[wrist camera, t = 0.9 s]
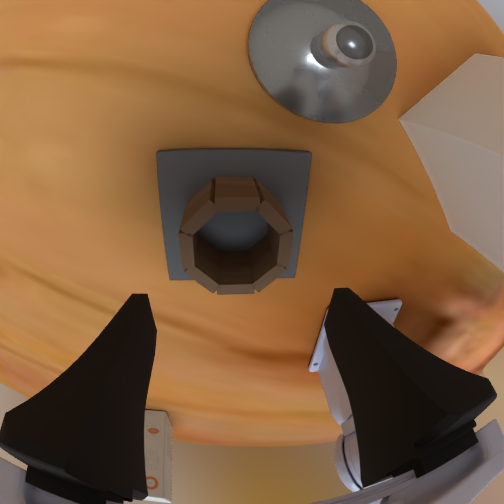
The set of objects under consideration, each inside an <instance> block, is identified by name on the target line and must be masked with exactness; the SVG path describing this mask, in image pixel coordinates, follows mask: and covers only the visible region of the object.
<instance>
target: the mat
mask: <svg viewBox="0 0 504 504" xmlns="http://www.w3.org/2000/svg"><path fill="white" fill-rule="evenodd" d="M156 155H157V172H158V185H159V197H160V208H161V218H162V227H163V235H164V244H165V251H166V259H167V266H168V272H169V279H170V280H194V279H193V278H191V277H190V276H188V275H187V274H186V273H184V271H185V269H182V264H181V255H180V246H179V235H178V233H179V229H180V226H181V222H182V218H183V215H184V211H185V208H186V206H187V203H188V202H189V201H190V200H191V198H192V197H193V196H194V195H195V194H196V193H197V192H198V191H199V190H200V189H202V188H203V187H204V186H205V185H206V184H207V183H208V182H209V181H210V180H211V179H213V180H214V181H215V182H216V177H253V180H255V179H257V180H258V181H259V182H260V183H261V184H262V185H263V186H264V187H265V188H266V189H267V190H268V191H269V192H270V193H271V194H272V195H273V196H274V197H275V198H276V199H277V200H278V201H279V202H280V204H281V206H282V208H283V210H284V212H285V214H286V216H287V218H288V220H289V222H290V224H291V226H292V229H293V231H294V235H293V243H292V250H291V257H290V265H289V267H286V269H287V271H285V272H284V273H283V274H281V275H280V276H279V277H278V278H295V274H296V267H297V261H298V255H299V248H300V241H301V235H302V228H303V220H304V213H305V206H306V198H307V190H308V182H309V173H310V165H311V155H312V153H310V152H309V151H296V150H279V149H253V148H201V149H175V150H159V151H157V152H156ZM198 232H199V236H201V237H202V238H203V239H204V240H205V241H207V242H208V243H209V244H210V245H211V246H213V247H214V248H215V249H216V250H217V251H219V252H242V251H248V250H249V249H250V248H251V247H253V246H254V245H255V244H256V243H257V242H258V241H260V240H261V239H262V238H263V237H264V236H266V235H267V232H268V222H267V221H266V220H265V219H264V218H263V217H262V216H261V215H260V214H259V213H258V212H256V211H218V212H217V213H216V214H215V215H214V216H213V217H212V218H210V219H209V220H208V221H207V222H206V223H205V224H204V225H203V226H202V227H201V228H200V229H199V230H198Z"/></svg>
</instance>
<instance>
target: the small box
mask: <svg viewBox="0 0 504 504" xmlns="http://www.w3.org/2000/svg"><path fill="white" fill-rule="evenodd" d="M144 454H145V471H146V481H147V489H148V496H147V497H146V498H145V499H144V500H150V501H158V502H166V503H172V425H171V423H170V420H169V418H168V415H167V413H166V412H165V411H153V410H145V421H144Z"/></svg>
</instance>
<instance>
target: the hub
mask: <svg viewBox="0 0 504 504" xmlns="http://www.w3.org/2000/svg"><path fill="white" fill-rule="evenodd" d="M248 55H249V61H250V64H251V67H252V70H253V72H254V74H255V76H256V79H257V80H258V82H259V83H260V85H261V86H262V88H263V89H264V90H265V91H266V92H267V94H268V95H269V96H270V97H271V98H272V99H274V100H275V101H276V102H277V103H278V104H280V105H281V106H282V107H284V108H285V109H287V110H289V111H291V112H292V113H295V114H297V115H299V116H301V117H305V118H308V119H311V120H315V121H319V122H325V123H345V122H351V121H355V120H358V119H361V118H363V117H365V116H367V115H369V114H370V113H372V112H373V111H375V110H376V109H377V108H378V107H379V106H380V105H381V104H382V103H383V102H384V101H385V99H386V98H387V96H388V95H389V93H390V91H391V89H392V87H393V84H394V81H395V77H396V70H397V59H396V52H395V48H394V44H393V41H392V38H391V36H390V34H389V32H388V30H387V28H386V26H385V25H384V23H383V22H382V21H381V19H380V18H379V17H378V16H377V15H376V13H375V12H374V11H373V10H372V9H371V8H369V7H368V6H367V5H366V4H365V3H363V2H362V1H360V0H269V1H268V2H267V3H265V4H264V5H263V7H262V8H261V9H260V11H259V12H258V13H257V15H256V17H255V19H254V21H253V24H252V26H251V29H250V32H249V37H248Z"/></svg>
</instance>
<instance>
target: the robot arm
mask: <svg viewBox="0 0 504 504" xmlns="http://www.w3.org/2000/svg"><path fill="white" fill-rule="evenodd" d="M401 305H402V302H401V300H400V299H397V300H389V301H380V302H371V303H366V302H364V301H363V300H362V299H361V298H360V297H359V296H358V295H357V294H355V293H354V292H353V291H352V290H351V289H349V288H334V292H333V295H332V299H331V302H330V306H329V308H328V309H327V312H326V315H325V318H324V322H323V325H322V328H321V331H320V335H319V338H318V341H317V344H316V347H315V350H314V353H313V356H312V359H311V362H310V365H309V371H310V372H316V371H318V373H319V376H320V379H321V382H322V386H323V389H324V392H325V396H326V399H327V402H328V406H329V409H330V412H331V415H332V417H333V418H334V420H335V421H336V422H337V423H338V424H339V425H341V427H342V430H343V433H342V434H341V435H340V436H339V437H338V439H337V441H336V446H335V449H334V461H335V466H336V469H337V472H338V474H339V477H340V479H341V480H342V482H343V483H344V484H345V486H347V488H349V489H350V490H351V491H352V492H353V493H350V494H346V495H343V496H339V497H335V498H332V499H328V500H323V501H319V502H315V503H310V504H469V503H470V502H471V501H473V499H474V498H476V496H477V495H479V494H480V493H481V492H482V490H484V489H485V488H486V487H487V485H489V484H490V483H491V481H492V480H493V479H495V478H496V477H497V476H498V475H499V474H500V472H502V471H503V470H504V435H503V433H502V431H501V429H500V427H499V424H498V422H497V420H496V419H494V420H492V421H491V422H489V423H488V424H487V425H486V426H484V427H483V428H481V429H480V430H478V431H477V432H476V433H475V432H474V430H473V428H474V427H476V422H475V420H474V419H475V418H476V417H477V416H478V415H479V414H480V413H482V412H483V411H484V410H485V409H486V408H487V407H488V406H489V405H490V404H491V403H492V402H493V401H494V400H495V399H496V397H497V393H496V392H495V390H494V388H493V386H492V385H491V382H490V381H489V379H487V378H484V377H482V376H479V375H476V374H473V373H470V372H467V371H465V370H463V369H460V368H458V367H456V366H454V365H452V364H450V363H448V362H446V361H444V360H442V359H440V358H438V357H437V356H435V355H433V354H431V353H430V352H428V351H427V350H425V349H423V348H422V347H420V346H419V345H417V344H416V343H415V342H413V341H412V340H410V339H409V338H407V337H406V336H405V335H404V334H402V333H401V332H400V331H398V330H397V329H396V328H395V326H394V325H393V322H394V320H395V318H396V316H397V314H398V312H399V310H400V308H401ZM156 335H157V329H156V326H155V322H154V318H153V314H152V311H151V307H150V303H149V298H148V294H132V295H131V296H130V297H129V298H128V300H127V301H126V302H125V303H124V305H123V306H122V307H121V308H120V310H119V311H118V312H117V314H116V315H115V316H114V317H113V319H112V320H111V321H110V322H109V324H108V325H107V326H106V327H105V329H104V330H103V331H102V332H101V334H100V335H99V336H98V337H97V338H96V339H95V341H94V342H93V343H92V344H91V345H90V346H89V347H88V349H87V350H86V351H85V352H84V353H83V354H82V355H81V356H80V357H79V358H78V359H77V360H76V361H75V362H74V363H73V364H72V365H71V366H70V367H69V368H68V369H67V370H66V371H65V372H63V373H62V374H61V375H60V376H59V377H58V378H56V379H55V380H54V381H53V382H52V383H51V384H49V385H48V386H47V387H45V388H44V389H43V390H41V391H40V392H39V393H37V394H36V395H34V396H33V397H31V398H30V399H29V400H27V401H25V402H24V403H22V404H20V405H19V406H17V407H15V408H13V409H12V410H10V411H9V412H6V413H5V417H4V419H3V423H2V426H1V430H0V447H1V448H2V449H3V450H5V451H6V452H8V453H9V454H10V455H12V456H14V457H15V458H17V459H18V460H20V461H22V462H23V463H25V464H27V465H28V468H27V471H26V470H24V469H22V468H20V467H18V466H16V465H14V464H12V463H10V462H8V461H7V460H5V459H3V458H1V457H0V504H123V500H124V501H129V502H132V501H133V499H135V500H144V499H145V498H146V497H147V496H148V489H147V481H146V471H145V454H144V421H145V406H146V399H147V393H148V387H149V382H150V377H151V372H152V366H153V361H154V356H155V347H156Z"/></svg>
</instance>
